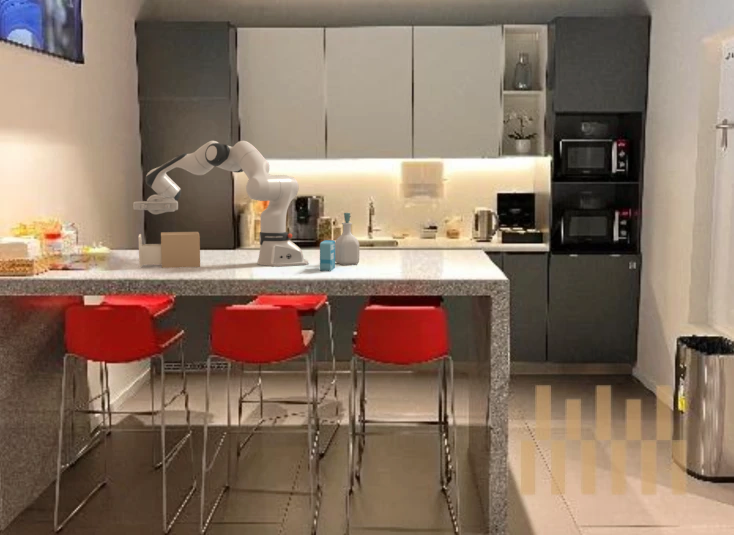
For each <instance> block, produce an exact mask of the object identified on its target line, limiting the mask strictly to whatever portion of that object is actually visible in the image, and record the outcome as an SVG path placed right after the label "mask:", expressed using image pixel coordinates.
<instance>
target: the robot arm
mask: <svg viewBox="0 0 734 535" xmlns="http://www.w3.org/2000/svg"><path fill="white" fill-rule="evenodd" d="M214 167H216V168H219V169H222V170H224V171H228V172H233V173H236V174H237V173H244V175H246V176H247V178H248V180H247V182H246V185H245V189H246V190H245V191H246V193H247V195H248V198H250V200H254V201H259V202H269V203H268V205H267V207H266V208H265V209H264V210H263V211H262V212H261V214H260V232H259V240H258V241H259V245H260V246H259V253H258V254H259V255H258V259H257V263H256V264H257V265H260V266H261V265H262V266H271V267H285V266H286V267H287V266H288V267H289V266H305V265H307V266H308V265H309V260H307V259H304V254H303V250H302V249H301V248H300V247H299V246H298V245H297V244H295V243H294V242H293V241H291V239H292V237H293V234H292V233H291V232H290V233H289V232H288V231H286V230H287V215H288V210H289V207H290V204H291V202H292V200H294V199H295V197H296V196H297V195H298V194H299V193H298V192H299V188H300V187H299V182H298V180H297V179H296V178H295V177H293V176H289V175H287V174H283V175H281V174H280V175H279V174H278V175H277V174H276V175H275V174H274V175H273V174H270V173H269V172H270V164H269V162H268V160H267V159H266V158H265V157H264V156H263V155H262V153H261V152H260V151H259V150H258V149H257V148H256V147H255V146H254V145H253V144H252V143H251V142H249V141H246V140H239V141H237V142H236V143H235V144H234V145H233V146H230V145H228V144H224V143H220V142H218V141H216V140H210V141H208V142H206V143H204V144H202V145H201V146H200V147H199V148H198V149H196V150H195V151H193V152H191V153H187V152H183V153H179V154H178V155H176V156H175V157H172V158H171V159H169V160H168V161H166V162H164V163H162V164H161V165H160V166H157V167H156V168H152V169H151V170H149V172H147V174H146V175H145V184H146V185H147V186H148V187H150V188H151V189H152V190H153V191H154V192H155V193H156V194H152V195H149V196H148V198H147V199H146V201H145V200H144V201H143V200H142V201H134V202H132V209H133V210H134V211H147V212H149V213H151V214H152V215H160V214H164V213H172V212H175V211H178V210H179V201H178V200H179V199H180V198H181V196H182V188H181V187H179V185H178V184H177V183H176V182H175V181H174V180H173V179H171V177H170V176H169V175H168V174H167V173H168V172H170V171H171V170H173V169H175V168H179V169H182V170H184V171H187V172H189V173H191V174H192V175H195V176H203V175H205V174H207V173H209V172H210V171H212V169H214Z"/></svg>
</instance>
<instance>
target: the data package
mask: <svg viewBox="0 0 734 535" xmlns="http://www.w3.org/2000/svg"><path fill="white" fill-rule="evenodd" d="M335 242H336V240H330V239H329V240H327V239H323V241H321V242H320V243H319V270H320V272H331V271H334V269H335V268H336V262H335Z"/></svg>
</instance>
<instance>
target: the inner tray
mask: <svg viewBox="0 0 734 535" xmlns="http://www.w3.org/2000/svg"><path fill="white" fill-rule="evenodd" d="M137 238H138V266H139V267H138V268H142V266H152V265H153V266H154V265H161V266H162V255H161V243H145V244H143V237H142V233H139V234H138V237H137Z"/></svg>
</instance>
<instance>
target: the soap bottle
mask: <svg viewBox="0 0 734 535" xmlns="http://www.w3.org/2000/svg"><path fill="white" fill-rule="evenodd" d="M343 216H344V218H343V220H344V221H345V222H341V224H342V227H343V229H342V230H343V231H342V233H341V235H339V236H338V237H337V238H336V240H335V264H339V265H341V266H347V265H348V266H349V265H351V266H352V265H353V266H354V265H358V264H359V262H360V242H359V240H358V239H357V237H356V236H355V235H354V234H352V225H353V222H350V219H351V213H350V212H344V213H343Z"/></svg>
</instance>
